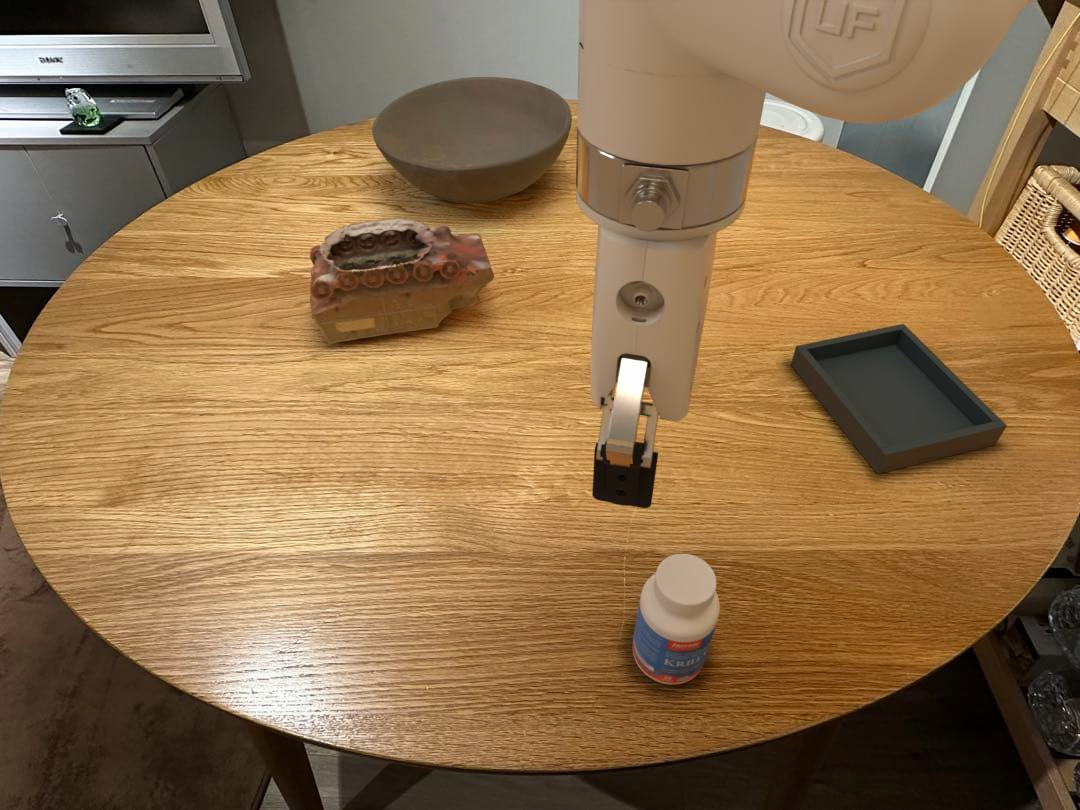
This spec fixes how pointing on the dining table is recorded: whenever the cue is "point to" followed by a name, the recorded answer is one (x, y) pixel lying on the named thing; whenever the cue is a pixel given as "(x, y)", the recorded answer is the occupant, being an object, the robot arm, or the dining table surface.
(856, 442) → the tray
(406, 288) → the brown toy tank
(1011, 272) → the dining table surface
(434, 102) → the bowl
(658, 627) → the pill bottle
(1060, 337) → the dining table surface
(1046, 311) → the dining table surface
